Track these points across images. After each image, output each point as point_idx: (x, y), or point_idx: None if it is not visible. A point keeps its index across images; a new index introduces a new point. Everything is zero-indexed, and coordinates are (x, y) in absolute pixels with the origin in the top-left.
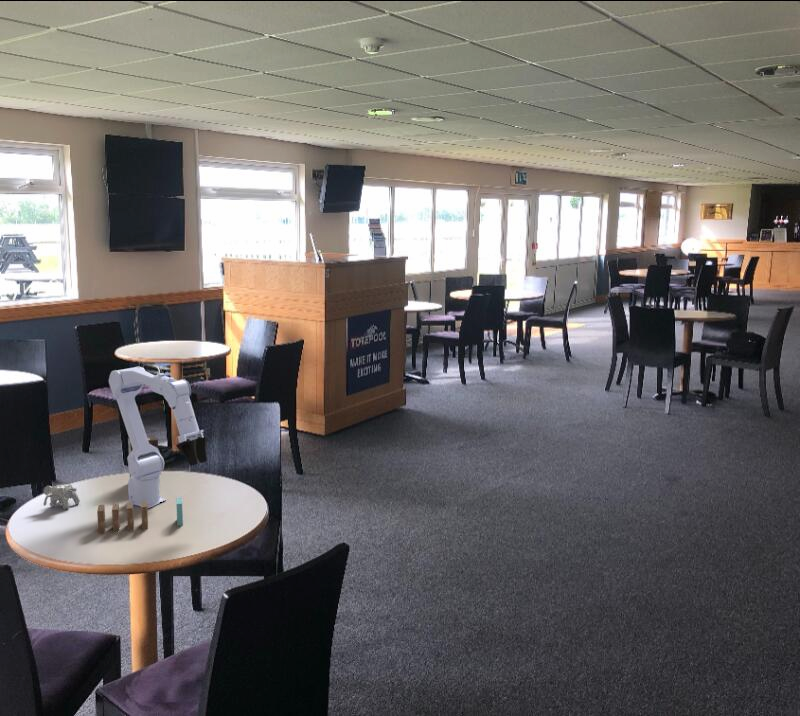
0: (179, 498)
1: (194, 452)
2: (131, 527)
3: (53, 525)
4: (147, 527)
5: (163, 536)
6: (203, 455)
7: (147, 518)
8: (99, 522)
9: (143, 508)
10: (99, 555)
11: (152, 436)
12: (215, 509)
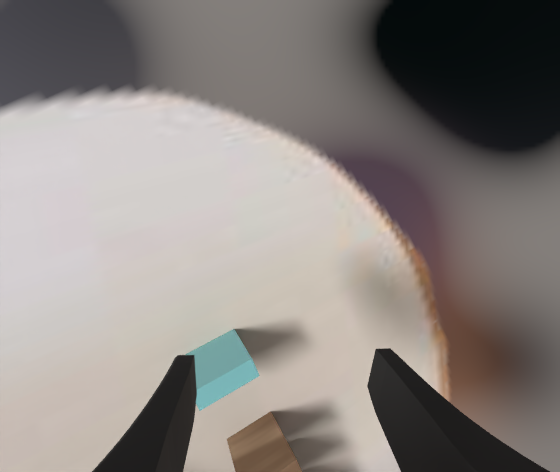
0: (203, 395)
1: (462, 415)
2: None
3: None
4: (272, 415)
5: (308, 344)
6: (183, 407)
7: (268, 435)
8: None
9: (298, 464)
10: None
11: None
12: (77, 282)
